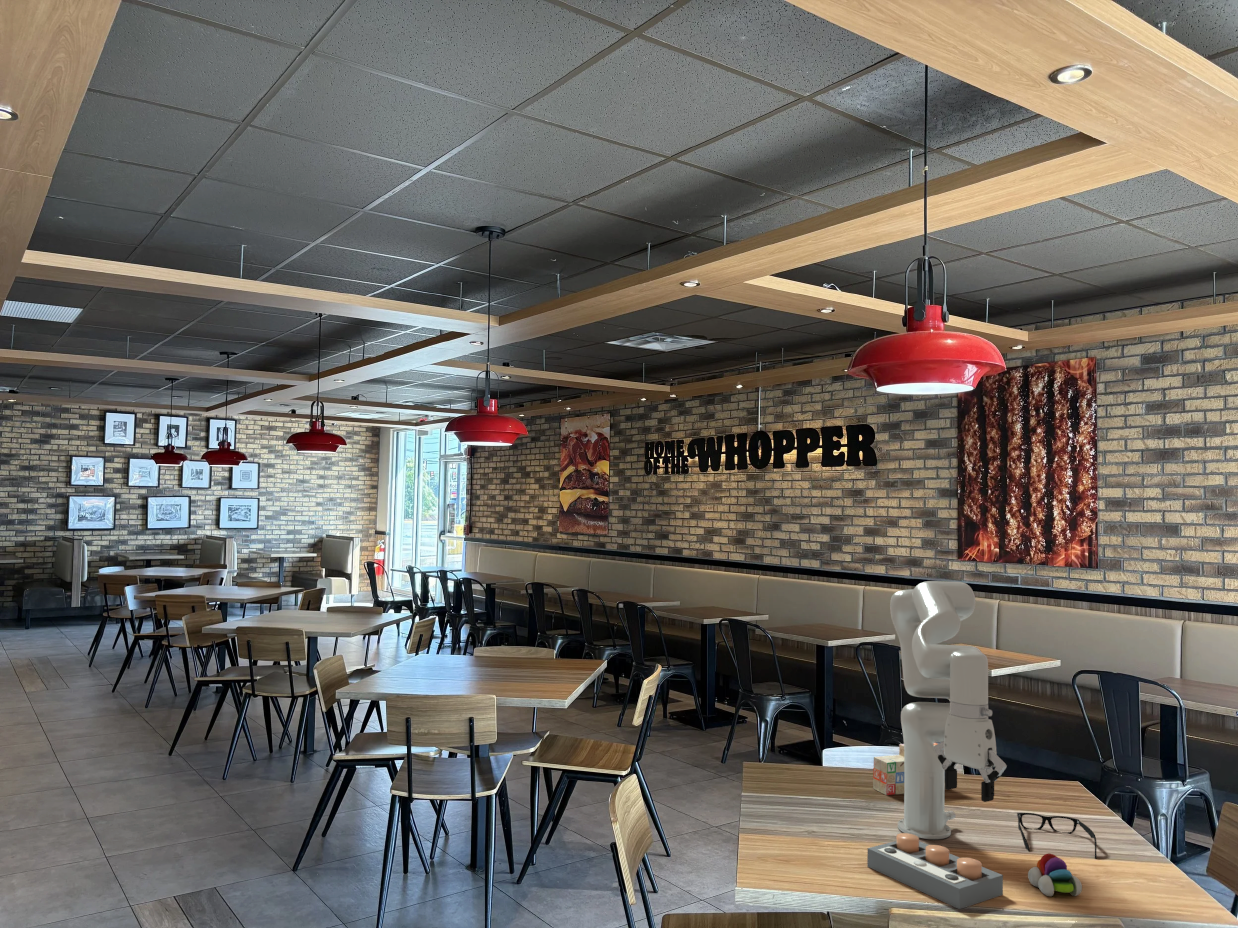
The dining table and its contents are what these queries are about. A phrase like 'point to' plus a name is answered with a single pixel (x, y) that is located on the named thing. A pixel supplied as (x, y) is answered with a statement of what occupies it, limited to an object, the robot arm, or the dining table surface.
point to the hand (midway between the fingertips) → (968, 794)
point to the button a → (908, 843)
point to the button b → (937, 855)
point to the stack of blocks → (890, 773)
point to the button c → (969, 868)
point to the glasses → (1044, 818)
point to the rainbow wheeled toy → (1054, 876)
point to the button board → (934, 875)
